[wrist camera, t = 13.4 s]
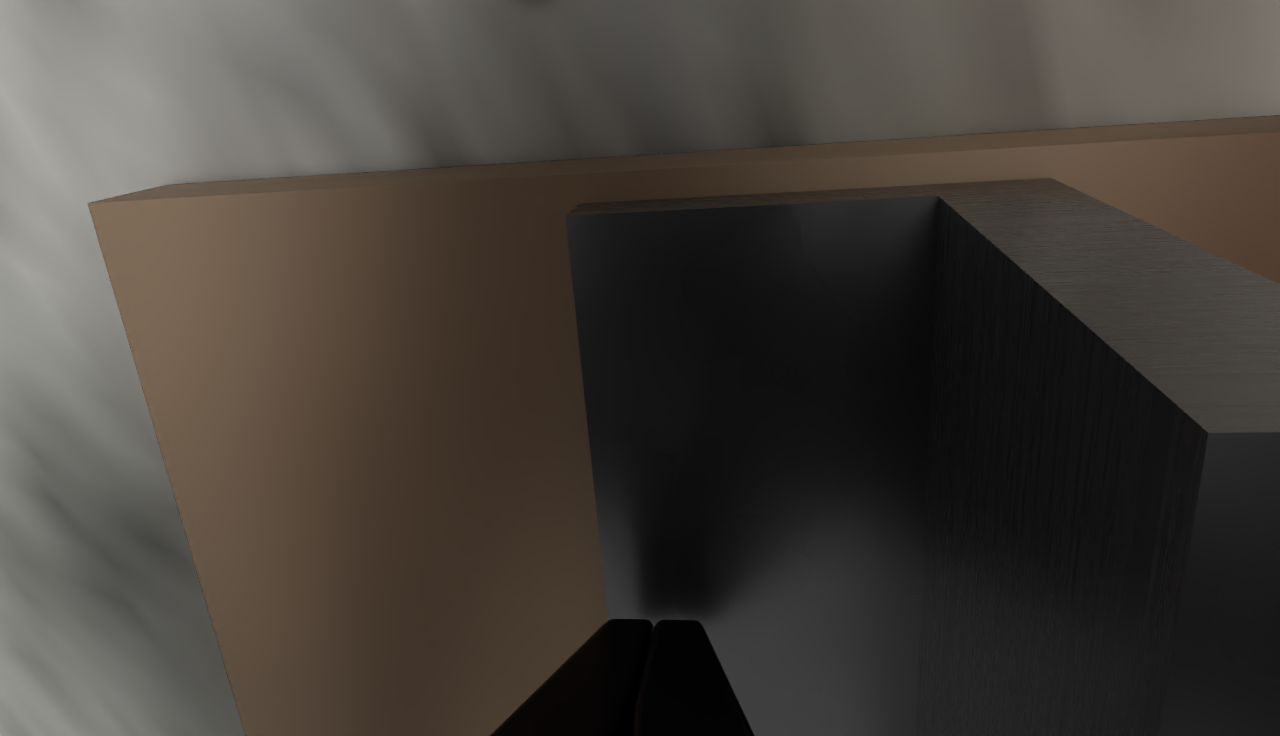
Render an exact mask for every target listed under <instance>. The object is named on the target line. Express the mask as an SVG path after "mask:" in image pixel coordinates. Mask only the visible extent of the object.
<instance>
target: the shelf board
mask: <svg viewBox="0 0 1280 736" xmlns="http://www.w3.org/2000/svg"><path fill="white" fill-rule="evenodd" d="M1040 178H1053V179H1055V180H1057V181H1059V182H1061V183H1063V184H1065V185H1068V186H1070V187H1072V188H1074V189H1076V190H1078V191H1080V192H1083V193H1085V194H1087V195H1089V196H1091V197H1093V198H1095V199H1098V200H1100V201H1102V202H1104V203H1106V204H1108V205H1110V206H1113V207H1115V208H1117V209H1119V210H1121V211H1123V212H1126V213H1128V214H1130V215H1132V216H1134V217H1136V218H1138V219H1141V220H1143V221H1145V222H1147V223H1149V224H1151V225H1153V226H1156V227H1158V228H1160V229H1162V230H1164V231H1166V232H1168V233H1171V234H1173V235H1175V236H1177V237H1179V238H1181V239H1183V240H1186V241H1188V242H1190V243H1192V244H1194V245H1196V246H1198V247H1201V248H1203V249H1205V250H1207V251H1209V252H1211V253H1214V254H1216V255H1218V256H1220V257H1222V258H1224V259H1226V260H1229V261H1231V262H1233V263H1235V264H1237V265H1239V266H1241V267H1244V268H1246V269H1248V270H1250V271H1252V272H1254V273H1256V274H1259V275H1261V276H1263V277H1265V278H1267V279H1269V280H1271V281H1274V282H1276V283H1278V284H1280V115H1276V116H1260V117H1244V118H1228V119H1212V120H1196V121H1180V122H1164V123H1148V124H1132V125H1116V126H1100V127H1084V128H1068V129H1052V130H1036V131H1020V132H1004V133H988V134H972V135H956V136H940V137H924V138H908V139H892V140H876V141H861V142H845V143H829V144H813V145H797V146H781V147H765V148H749V149H733V150H717V151H701V152H685V153H669V154H653V155H637V156H621V157H605V158H589V159H573V160H557V161H541V162H525V163H509V164H493V165H477V166H461V167H445V168H429V169H413V170H397V171H381V172H365V173H349V174H334V175H318V176H302V177H286V178H270V179H254V180H238V181H222V182H206V183H190V184H174V185H164V186H160V187H155V188H151V189H147V190H142V191H138V192H134V193H130V194H125V195H121V196H117V197H112V198H108V199H104V200H99V201H95V202H91V203H88V207H89V210H90V213H91V217H92V220H93V223H94V227H95V230H96V234H97V237H98V240H99V244H100V247H101V250H102V254H103V257H104V261H105V264H106V267H107V271H108V274H109V277H110V281H111V284H112V288H113V291H114V294H115V298H116V301H117V304H118V308H119V311H120V315H121V318H122V321H123V325H124V328H125V331H126V335H127V338H128V341H129V345H130V348H131V352H132V355H133V358H134V362H135V365H136V368H137V372H138V375H139V379H140V382H141V385H142V389H143V392H144V395H145V399H146V402H147V406H148V409H149V412H150V416H151V419H152V422H153V426H154V429H155V432H156V436H157V439H158V443H159V446H160V449H161V453H162V456H163V459H164V463H165V466H166V470H167V473H168V476H169V480H170V483H171V486H172V490H173V493H174V497H175V500H176V503H177V507H178V510H179V513H180V517H181V520H182V523H183V527H184V530H185V534H186V537H187V540H188V544H189V547H190V550H191V554H192V557H193V561H194V564H195V567H196V571H197V574H198V577H199V581H200V584H201V588H202V591H203V594H204V598H205V601H206V604H207V608H208V611H209V614H210V618H211V621H212V625H213V628H214V631H215V635H216V638H217V641H218V645H219V648H220V652H221V655H222V658H223V662H224V665H225V668H226V672H227V675H228V679H229V682H230V685H231V689H232V692H233V695H234V699H235V702H236V705H237V709H238V712H239V716H240V719H241V722H242V726H243V729H244V732H245V736H490V735H491V734H492V733H493V732H494V731H495V730H496V729H497V728H498V727H499V726H500V725H501V724H502V723H503V722H504V721H505V720H506V719H507V718H508V717H509V716H510V715H511V714H512V713H513V712H514V711H515V710H516V709H517V708H518V707H519V706H520V705H521V704H522V703H523V702H525V701H526V700H527V699H528V698H529V697H530V696H531V695H532V694H533V693H534V692H535V691H536V690H537V689H538V688H539V687H540V686H541V685H542V684H543V683H544V682H545V681H546V680H547V679H548V678H549V677H550V676H551V675H552V674H553V673H554V672H555V671H556V670H557V669H558V668H559V667H560V666H561V665H562V664H563V663H564V662H565V661H566V660H567V659H568V658H569V657H570V656H571V655H572V654H573V653H574V652H576V651H577V650H578V649H579V648H580V647H581V646H582V645H583V644H584V643H585V642H586V641H587V640H588V639H589V638H590V637H591V636H592V635H593V634H594V633H595V632H596V631H597V630H598V629H599V628H600V627H601V626H602V625H603V624H604V623H605V622H607V621H608V615H607V605H606V596H605V586H604V577H603V567H602V558H601V549H600V539H599V530H598V520H597V511H596V501H595V492H594V483H593V473H592V464H591V454H590V445H589V436H588V426H587V417H586V407H585V398H584V388H583V379H582V370H581V360H580V351H579V341H578V332H577V322H576V313H575V304H574V294H573V285H572V275H571V266H570V256H569V247H568V238H567V228H566V219H565V216H566V215H567V214H568V213H569V212H570V211H571V210H573V209H574V208H575V207H576V206H577V205H579V204H580V203H598V202H616V201H635V200H653V199H671V198H690V197H708V196H727V195H745V194H763V193H782V192H800V191H819V190H837V189H856V188H874V187H892V186H911V185H929V184H948V183H966V182H984V181H1003V180H1021V179H1040Z"/></svg>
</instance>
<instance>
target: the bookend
mask: <svg viewBox="0 0 1280 736" xmlns="http://www.w3.org/2000/svg"><path fill="white" fill-rule="evenodd" d="M565 219H566V228H567V238H568V247H569V256H570V266H571V275H572V285H573V294H574V304H575V313H576V322H577V332H578V341H579V351H580V360H581V370H582V379H583V388H584V398H585V407H586V417H587V426H588V436H589V445H590V454H591V464H592V473H593V483H594V492H595V501H596V511H597V520H598V530H599V539H600V549H601V558H602V567H603V577H604V586H605V596H606V605H607V615H608V620H610V619H647V620H649V621H651V622H652V624H653V626H654V627H655V625H656V623H657V622H659V621H660V620H696V621H699V622H700V623H701V624H702V625H703V627H704V629H705V631H706V633H707V635H708V637H709V640H710V642H711V644H712V646H713V648H714V650H715V652H716V654H717V657H718V659H719V661H720V663H721V665H722V667H723V669H724V671H725V674H726V676H727V678H728V680H729V682H730V684H731V686H732V688H733V691H734V693H735V695H736V697H737V699H738V701H739V703H740V705H741V708H742V710H743V712H744V714H745V716H746V718H747V720H748V722H749V725H750V727H751V729H752V731H753V733H754V735H755V736H1280V284H1278V283H1276V282H1274V281H1271V280H1269V279H1267V278H1265V277H1263V276H1261V275H1259V274H1256V273H1254V272H1252V271H1250V270H1248V269H1246V268H1244V267H1241V266H1239V265H1237V264H1235V263H1233V262H1231V261H1229V260H1226V259H1224V258H1222V257H1220V256H1218V255H1216V254H1214V253H1211V252H1209V251H1207V250H1205V249H1203V248H1201V247H1198V246H1196V245H1194V244H1192V243H1190V242H1188V241H1186V240H1183V239H1181V238H1179V237H1177V236H1175V235H1173V234H1171V233H1168V232H1166V231H1164V230H1162V229H1160V228H1158V227H1156V226H1153V225H1151V224H1149V223H1147V222H1145V221H1143V220H1141V219H1138V218H1136V217H1134V216H1132V215H1130V214H1128V213H1126V212H1123V211H1121V210H1119V209H1117V208H1115V207H1113V206H1110V205H1108V204H1106V203H1104V202H1102V201H1100V200H1098V199H1095V198H1093V197H1091V196H1089V195H1087V194H1085V193H1083V192H1080V191H1078V190H1076V189H1074V188H1072V187H1070V186H1068V185H1065V184H1063V183H1061V182H1059V181H1057V180H1055V179H1053V178H1040V179H1021V180H1003V181H984V182H966V183H948V184H929V185H911V186H892V187H874V188H856V189H837V190H819V191H800V192H782V193H763V194H745V195H727V196H708V197H690V198H671V199H653V200H635V201H616V202H598V203H580V204H579V205H577V206H576V207H575V208H574V209H573V210H571V211H570V212H569V213H568V214H567V215H566V216H565Z"/></svg>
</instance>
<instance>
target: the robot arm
mask: <svg viewBox="0 0 1280 736" xmlns="http://www.w3.org/2000/svg"><path fill="white" fill-rule="evenodd" d="M490 736H755V735H754V733H753V731H752V729H751V727H750V725H749V722H748V720H747V718H746V716H745V714H744V712H743V710H742V708H741V705H740V703H739V701H738V699H737V697H736V695H735V693H734V691H733V688H732V686H731V684H730V682H729V680H728V678H727V676H726V674H725V671H724V669H723V667H722V665H721V663H720V661H719V659H718V657H717V654H716V652H715V650H714V648H713V646H712V644H711V642H710V640H709V637H708V635H707V633H706V631H705V629H704V627H703V625H702V624H701V623H700V622H699V621H696V620H660V621H659V622H657V623H656V625H655V627H654V626H653V624H652V622H651V621H649V620H647V619H610V620H608V621H607V622H605V623H604V624H603V625H602V626H601V627H600V628H599V629H598V630H597V631H596V632H595V633H594V634H593V635H592V636H591V637H590V638H589V639H588V640H587V641H586V642H585V643H584V644H583V645H582V646H581V647H580V648H579V649H578V650H577V651H576V652H574V653H573V654H572V655H571V656H570V657H569V658H568V659H567V660H566V661H565V662H564V663H563V664H562V665H561V666H560V667H559V668H558V669H557V670H556V671H555V672H554V673H553V674H552V675H551V676H550V677H549V678H548V679H547V680H546V681H545V682H544V683H543V684H542V685H541V686H540V687H539V688H538V689H537V690H536V691H535V692H534V693H533V694H532V695H531V696H530V697H529V698H528V699H527V700H526V701H525V702H523V703H522V704H521V705H520V706H519V707H518V708H517V709H516V710H515V711H514V712H513V713H512V714H511V715H510V716H509V717H508V718H507V719H506V720H505V721H504V722H503V723H502V724H501V725H500V726H499V727H498V728H497V729H496V730H495V731H494V732H493V733H492V734H491V735H490Z"/></svg>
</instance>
